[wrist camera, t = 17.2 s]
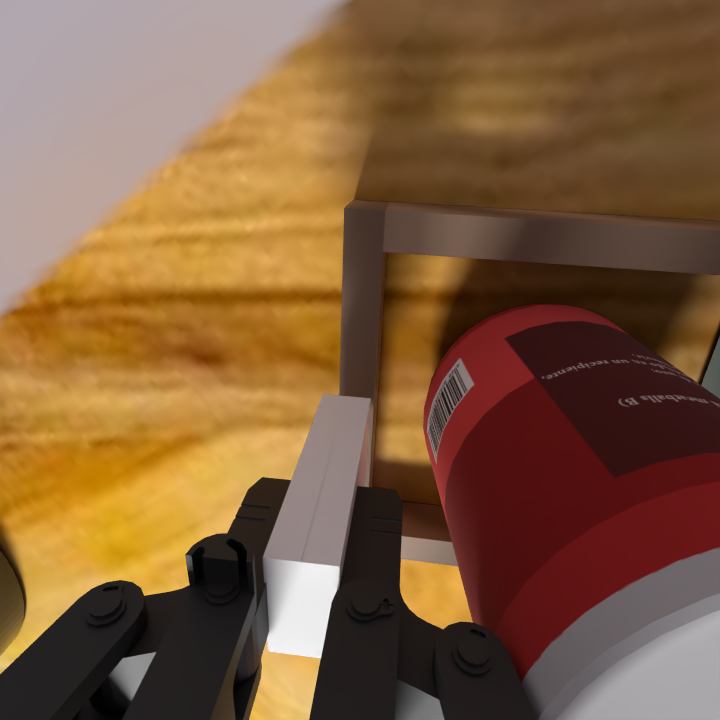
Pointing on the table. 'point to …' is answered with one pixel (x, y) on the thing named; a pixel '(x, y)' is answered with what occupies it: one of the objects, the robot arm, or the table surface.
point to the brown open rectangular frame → (484, 241)
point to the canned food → (583, 512)
